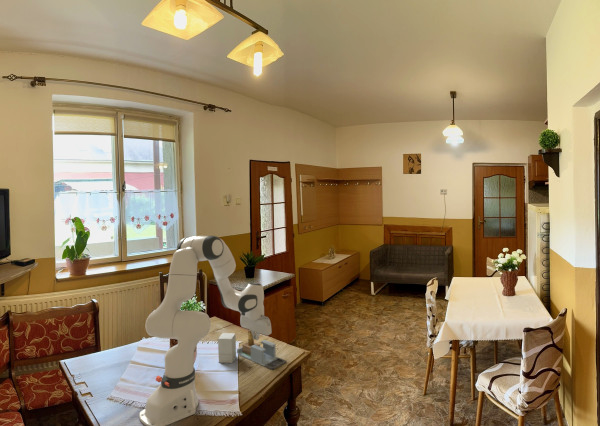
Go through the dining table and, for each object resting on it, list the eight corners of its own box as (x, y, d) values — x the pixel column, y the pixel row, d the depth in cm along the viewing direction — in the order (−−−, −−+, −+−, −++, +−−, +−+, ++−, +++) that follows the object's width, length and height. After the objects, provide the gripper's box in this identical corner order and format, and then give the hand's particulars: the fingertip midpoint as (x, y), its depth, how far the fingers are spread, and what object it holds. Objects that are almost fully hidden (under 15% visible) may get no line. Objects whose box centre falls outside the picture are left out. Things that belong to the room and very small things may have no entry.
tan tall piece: (251, 355, 185) (251, 335, 184) (242, 352, 190) (242, 331, 189) (259, 351, 190) (259, 331, 189) (250, 348, 194) (250, 328, 193)
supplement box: (236, 356, 187) (236, 333, 186) (232, 363, 180) (232, 338, 179) (222, 355, 188) (222, 332, 187) (218, 362, 180) (217, 338, 179)
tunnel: (272, 370, 173) (272, 355, 172) (236, 354, 190) (236, 340, 189) (286, 362, 180) (286, 348, 180) (250, 347, 197) (250, 334, 197)
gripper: (274, 316, 182) (274, 342, 183) (247, 307, 195) (247, 332, 196) (265, 319, 177) (265, 346, 178) (238, 310, 190) (238, 336, 191)
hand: (255, 339), depth 187 cm, fingers closed
